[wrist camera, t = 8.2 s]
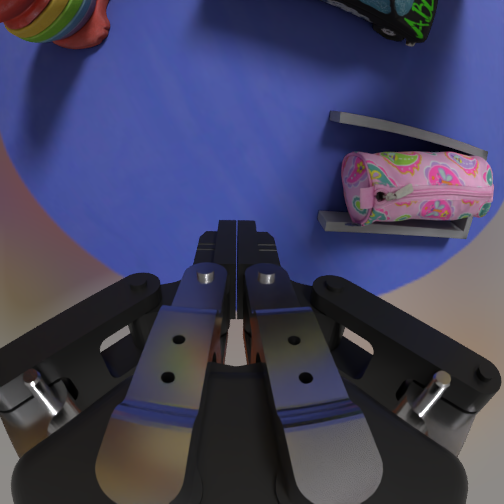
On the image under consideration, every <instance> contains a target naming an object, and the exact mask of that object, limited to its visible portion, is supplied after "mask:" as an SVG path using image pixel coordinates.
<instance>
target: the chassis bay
mask: <svg viewBox="0 0 504 504" xmlns="http://www.w3.org/2000/svg"><path fill="white" fill-rule="evenodd" d="M330 121H335V122H339V123H346V124H352V125H358V126H363V127H369V128H374V129H379V130H384V131H389V132H393V133H398V134H402V135H406V136H410V137H414V138H418V139H422V140H426V141H430V142H433V143H437V144H440V145H444V146H447V147H450V148H454V149H457V150H460V151H463V152H466V153H467V154H466V155H467V156H479V157H482V158H483V159H484V160H485V161H486V160H487V154H488V152H487V151H484V150H482V149H479V148H477V147H474V146H471V145H469V144H466V143H463V142H460V141H457V140H454V139H451V138H448V137H445V136H442V135H439V134H435V133H432V132H429V131H425V130H422V129H418V128H414V127H410V126H407V125H403V124H399V123H394V122H390V121H386V120H381V119H377V118H372V117H367V116H362V115H356V114H351V113H345V112H338V111H330ZM472 219H473V216H471V217H465V218H462V219H457V220H451V222H449V221H440V220H425V219H407V220H402V221H391V222H386V221H375V222H373V223H371V224H369V225H365V226H353V227H352V226H346V225H345V223H353V221H352V219H351V217H350V214H349V212H335V211H319V213H318V221H319V222H320V224H321V226H322V227H323V229H324V230H325V231H338V232H360V233H380V234H398V235H415V236H431V237H446V238H460V239H466V238H467V235H468V232H469V229H470V225H471V222H472Z"/></svg>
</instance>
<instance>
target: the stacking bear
mask: <svg viewBox="0 0 504 504" xmlns="http://www.w3.org/2000/svg"><path fill="white" fill-rule="evenodd" d="M108 1H109V0H0V23H1V22H4V25H5V27H6V29H7V30H8V31H9V32H10V33H12V34H13V35H15V36H17V37H19V38H21V39H23V40H26V41H29V42H35V43H45V42H53V43H55V44H56V45H59V46H61V47H64V48H69V49H84V48H89V47H93V46H96V45H98V44H100V43H101V42H102V41H103V39H105V38H106V37H107V35H108V31H109V29H110V22H109V20H108V18H107V16H106V7H107V4H108Z"/></svg>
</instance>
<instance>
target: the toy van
mask: <svg viewBox="0 0 504 504" xmlns="http://www.w3.org/2000/svg"><path fill="white" fill-rule="evenodd" d="M321 1H324V2H326V3H329V4H331V5H333V6H336V7H338V8H341V9H343V10H345V11H347V12H350V13H352V14H354V15H356V16H358V17H360V18H362V19H364V20H366V21H368V22H370V23H373V25H372V26H373V30H375V31H376V32H377V33H379V34H380V35H381V36H383V37H384V38H386V39H390V40H393V41H402V40H403V39H404V38H405V39H406V45H407V46H414V45H415V43H422V42H424V41H425V40H426V39H427V37H428V34H429V32H430V29H431V26H432V23H433V20H434V17H435V13H436V8H437V4H438V0H321Z"/></svg>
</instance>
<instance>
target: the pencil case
mask: <svg viewBox="0 0 504 504" xmlns="http://www.w3.org/2000/svg"><path fill="white" fill-rule="evenodd" d="M341 178H342V183H343V189H344V198H345V202H346V206H347V209H348V212H349V214H350V217H351V219H352V221H353V223H345V225H346V226H352V227H353V226H365V225H369V224H371V223H373V222H375V221H386V222H391V221H402V220H407V219H425V220H457V219H462V218H465V217H471V216H474V217H479V218H480V217H483V216H485V215H486V214H487V213H488V211H489V209H490V205H491V202H492V201H493V190H494V185H493V175H492V170H491V167H490V165H489V164H488V163H487V162H486V161H485V160H484V159H483V158H482V157H479V156H467V155H463V154H459V153H455V152H420V151H410V152H380V153H374V154H369V153H364V152H352V153H349V154H347V155H346V156H345V157H344V159H343V162H342V168H341Z"/></svg>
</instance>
